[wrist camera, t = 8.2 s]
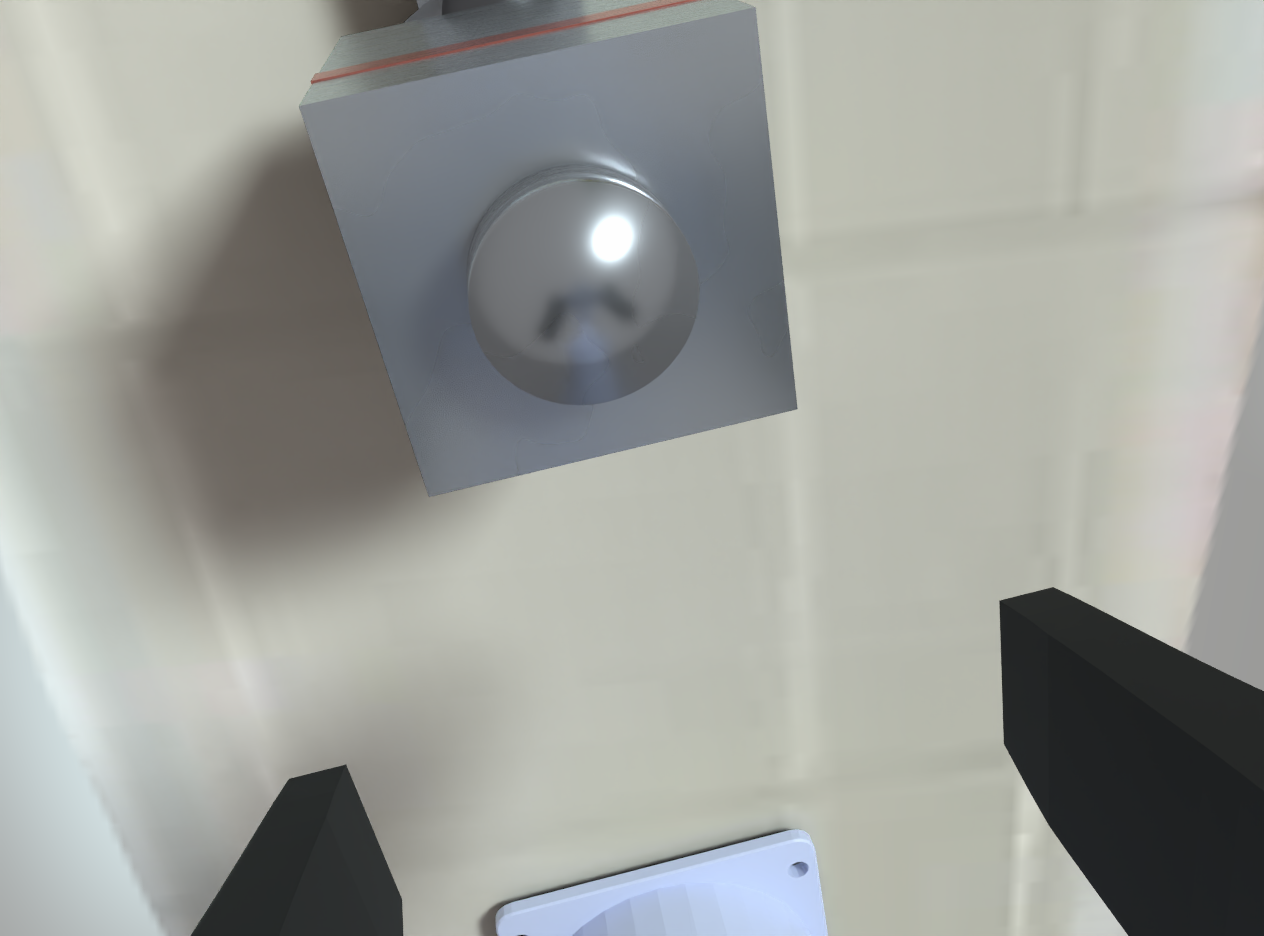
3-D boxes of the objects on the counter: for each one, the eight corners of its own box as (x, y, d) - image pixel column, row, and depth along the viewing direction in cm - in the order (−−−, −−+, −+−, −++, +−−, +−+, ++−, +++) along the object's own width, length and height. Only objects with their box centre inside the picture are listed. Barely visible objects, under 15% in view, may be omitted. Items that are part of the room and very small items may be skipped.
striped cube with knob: (704, 272, 17) (819, 440, 12) (430, 334, 17) (426, 535, 12) (660, -34, 15) (779, 13, 10) (338, 34, 14) (285, 120, 9)
